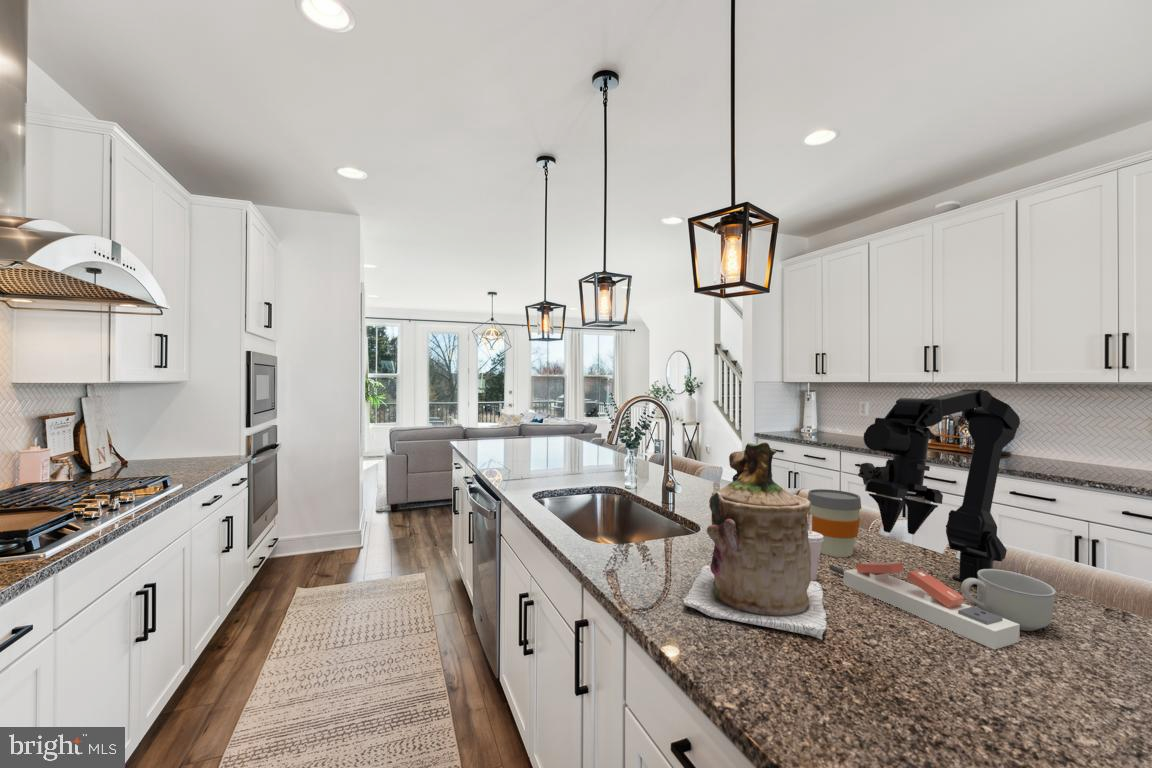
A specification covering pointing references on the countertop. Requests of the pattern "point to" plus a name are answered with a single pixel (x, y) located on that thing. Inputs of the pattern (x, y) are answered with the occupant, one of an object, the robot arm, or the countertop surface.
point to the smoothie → (814, 548)
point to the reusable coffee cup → (835, 520)
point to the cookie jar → (759, 552)
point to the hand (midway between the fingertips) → (899, 533)
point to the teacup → (1013, 597)
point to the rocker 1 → (879, 567)
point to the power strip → (934, 608)
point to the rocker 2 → (935, 588)
